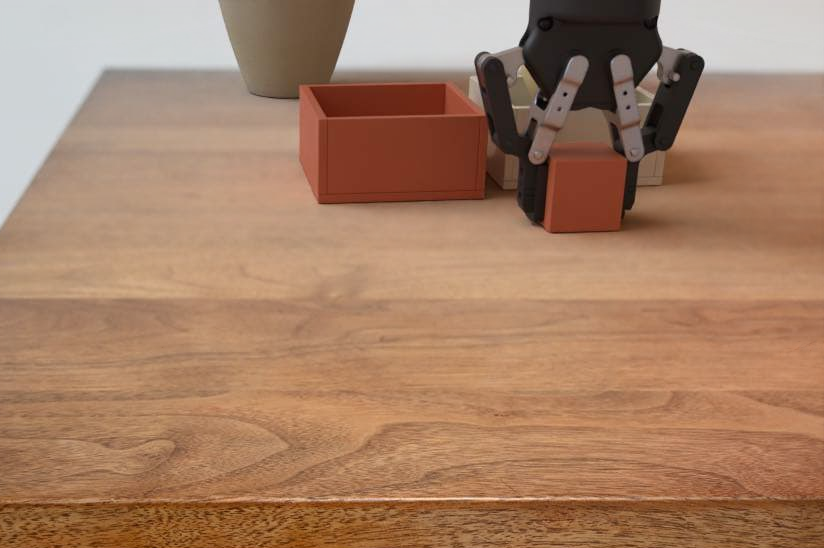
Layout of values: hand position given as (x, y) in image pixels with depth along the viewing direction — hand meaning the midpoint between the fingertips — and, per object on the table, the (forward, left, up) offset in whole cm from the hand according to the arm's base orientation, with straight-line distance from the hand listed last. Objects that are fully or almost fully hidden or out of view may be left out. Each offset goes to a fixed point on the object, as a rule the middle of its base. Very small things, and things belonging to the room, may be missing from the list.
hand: (574, 216), depth 79 cm
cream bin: (-3, -13, 0) cm, 13 cm away
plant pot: (+14, -42, -1) cm, 44 cm away
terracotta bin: (+10, -11, 0) cm, 15 cm away
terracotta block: (0, 0, 0) cm, 0 cm away
